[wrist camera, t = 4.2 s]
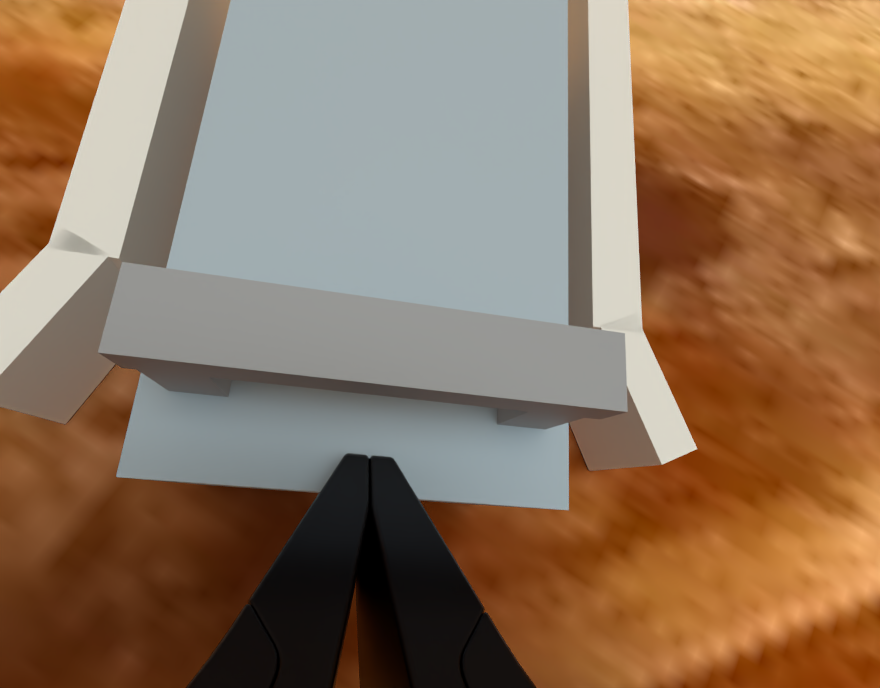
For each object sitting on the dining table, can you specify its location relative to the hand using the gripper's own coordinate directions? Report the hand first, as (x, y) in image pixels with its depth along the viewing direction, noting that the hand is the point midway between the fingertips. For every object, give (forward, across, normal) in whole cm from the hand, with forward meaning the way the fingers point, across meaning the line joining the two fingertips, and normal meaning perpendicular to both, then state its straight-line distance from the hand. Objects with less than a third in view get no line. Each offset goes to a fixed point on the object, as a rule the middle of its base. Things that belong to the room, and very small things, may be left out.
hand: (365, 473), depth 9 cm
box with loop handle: (+10, 0, 0) cm, 10 cm away
